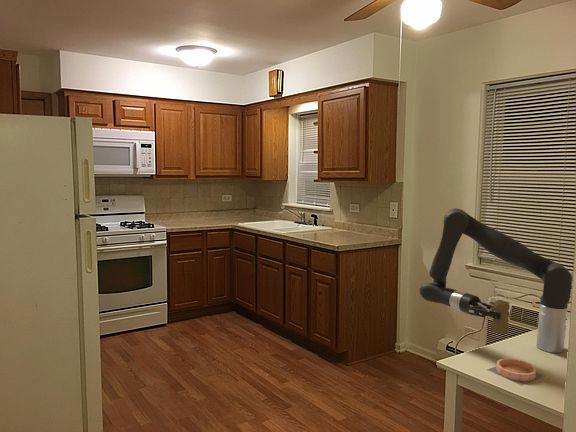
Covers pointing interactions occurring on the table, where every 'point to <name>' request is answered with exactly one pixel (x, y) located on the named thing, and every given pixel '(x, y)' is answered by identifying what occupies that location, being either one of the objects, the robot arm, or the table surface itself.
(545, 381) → the table surface
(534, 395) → the table surface
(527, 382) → the mat
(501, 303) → the pepper mill
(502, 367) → the bowl
